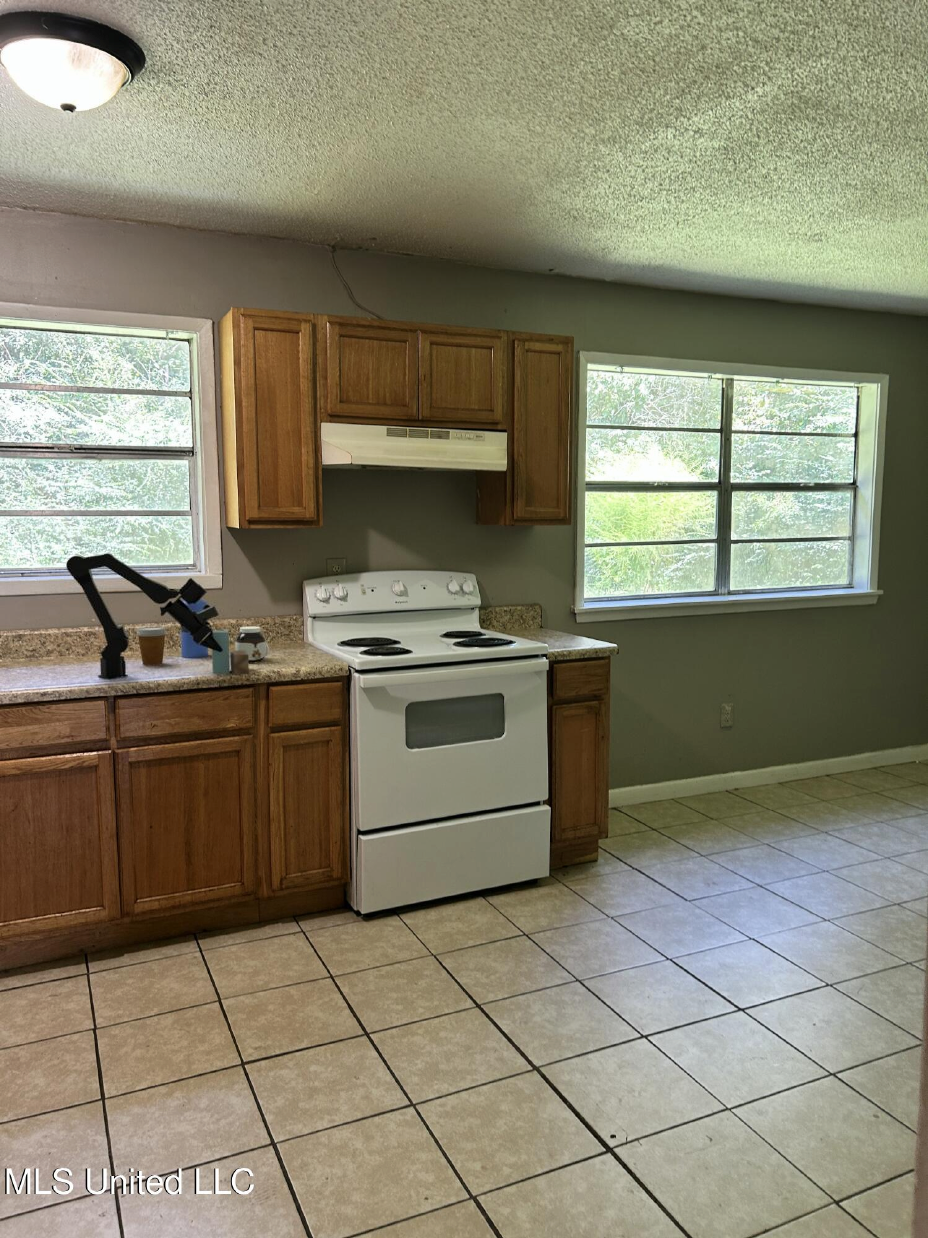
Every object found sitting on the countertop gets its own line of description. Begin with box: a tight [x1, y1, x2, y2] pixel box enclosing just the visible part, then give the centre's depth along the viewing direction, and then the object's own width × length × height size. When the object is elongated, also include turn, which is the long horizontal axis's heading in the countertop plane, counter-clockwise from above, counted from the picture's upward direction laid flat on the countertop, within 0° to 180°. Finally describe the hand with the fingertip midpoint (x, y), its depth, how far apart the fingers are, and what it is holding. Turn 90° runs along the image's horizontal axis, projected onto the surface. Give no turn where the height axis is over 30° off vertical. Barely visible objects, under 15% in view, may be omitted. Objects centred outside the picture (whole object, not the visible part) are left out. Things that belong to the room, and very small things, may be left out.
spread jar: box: [234, 625, 270, 664], centre depth 317 cm, size 12×11×12 cm
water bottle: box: [180, 598, 209, 659], centre depth 325 cm, size 9×9×25 cm
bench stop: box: [229, 650, 250, 675], centre depth 296 cm, size 5×10×6 cm, turn 17°
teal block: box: [211, 630, 231, 675], centre depth 294 cm, size 5×5×13 cm
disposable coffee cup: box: [136, 626, 168, 666], centre depth 309 cm, size 10×10×12 cm
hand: (221, 649), depth 294 cm, fingers open, 9 cm apart
